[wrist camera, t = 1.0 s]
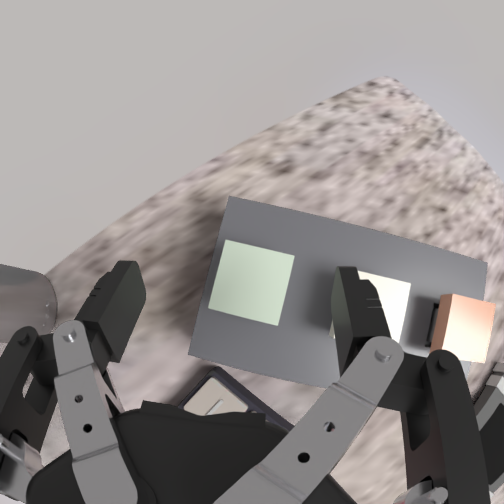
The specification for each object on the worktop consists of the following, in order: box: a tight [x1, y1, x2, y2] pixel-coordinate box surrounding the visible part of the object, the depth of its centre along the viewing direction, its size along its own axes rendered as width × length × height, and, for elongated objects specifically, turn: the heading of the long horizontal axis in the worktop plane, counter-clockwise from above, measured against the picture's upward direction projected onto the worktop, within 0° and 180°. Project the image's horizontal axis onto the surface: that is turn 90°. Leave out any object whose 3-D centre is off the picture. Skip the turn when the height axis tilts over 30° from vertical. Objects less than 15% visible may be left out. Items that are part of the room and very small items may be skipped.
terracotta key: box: [426, 294, 496, 363], centre depth 23 cm, size 5×5×6 cm
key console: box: [188, 196, 488, 388], centre depth 29 cm, size 26×14×7 cm, turn 76°
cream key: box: [329, 271, 411, 343], centre depth 24 cm, size 5×5×6 cm
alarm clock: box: [473, 363, 504, 498], centre depth 26 cm, size 17×5×16 cm
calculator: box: [177, 367, 295, 431], centre depth 29 cm, size 11×4×15 cm
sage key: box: [208, 240, 295, 326], centre depth 25 cm, size 5×5×6 cm
